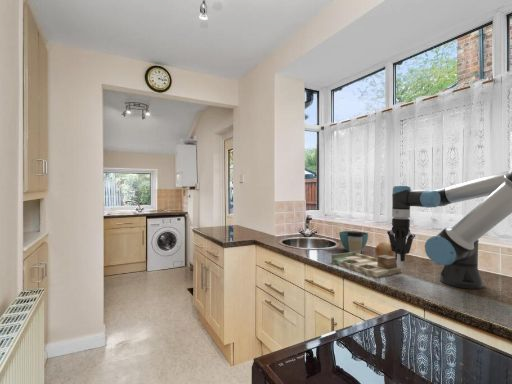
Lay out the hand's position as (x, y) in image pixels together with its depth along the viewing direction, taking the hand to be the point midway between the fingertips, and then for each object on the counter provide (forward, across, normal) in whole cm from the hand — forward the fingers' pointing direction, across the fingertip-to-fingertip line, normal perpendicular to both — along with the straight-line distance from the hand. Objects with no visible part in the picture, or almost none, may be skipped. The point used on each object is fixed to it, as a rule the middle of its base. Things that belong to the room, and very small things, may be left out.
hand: (400, 267), depth 130 cm
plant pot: (+5, -47, +21) cm, 52 cm away
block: (+2, -7, 0) cm, 7 cm away
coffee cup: (+4, -36, +10) cm, 38 cm away
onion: (+4, -23, +20) cm, 31 cm away
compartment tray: (+4, -17, -4) cm, 18 cm away
